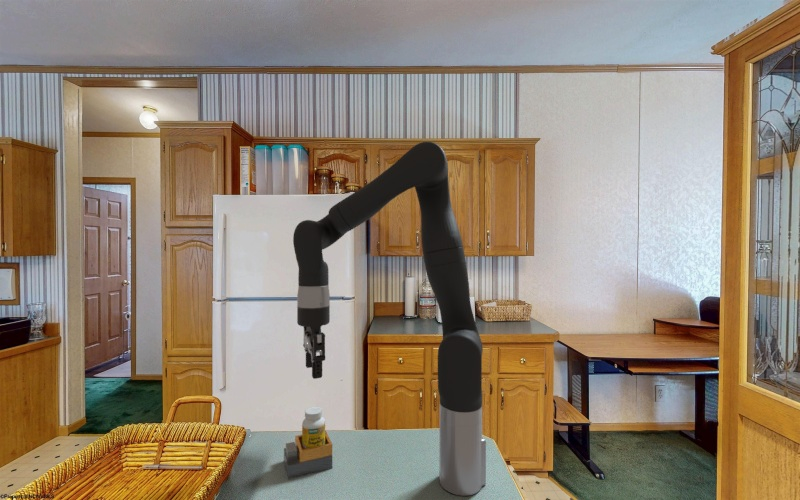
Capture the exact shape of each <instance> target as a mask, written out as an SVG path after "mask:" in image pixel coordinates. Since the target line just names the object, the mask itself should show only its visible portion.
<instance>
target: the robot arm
mask: <svg viewBox="0 0 800 500" xmlns="http://www.w3.org/2000/svg"><path fill="white" fill-rule="evenodd" d="M449 182H450V181H449V163H448V158H447V156H446V153H445V151H444V149H443V148H442V147H441V146H440V145H439V144H437V143H435V142H432V141H422V142H419V143H417V144H415V145H414V146H413V147H411V148H410V149H409V150H408V151H406V152H405V153H404V154H403V155H402V156H401V157H400V158H399V159H398V160H396V161H395V162H394V163H393V164H392V165H390V166H389V168H387V169H386V170H384V171H383V172H381V174H379V175H378V176H377V177H375V178H374V179H373V180H371V181H370V182H368V183H367V184H366V185H364V186H362V187H361V188H360V189H358V190H357V191H355V192H353V193H351V194H350V195H348V196H347V197H345V198H344V199H342V200H341V201H339V202H337V203H335V204H334V205H332V206H331V208H329V210H328V213H327V215H325V216H324V217H322V218H321V219H320V220H318V221H316V220H313V219H311V220H310V219H306V220H302V221H300V222H299V223H298V224H297V225H296V226H295V228H294V232H293V235H292V236H293V239H292V241H293V249H294V253H295V259H296V263H297V266H298V277H297V278H298V280H297V281H298V283H297V284H298V287H297V289H298V290H297V295H296V296H297V297H296V300H297V303H296V304H297V305H296V306H297V307H296V308H297V314H296V315H297V317H296V321H297V325H298V326H300V327H303V348H304V352H305V367H306V368H307V369H310V368H311V377H312V378H313V379H314V380H315V379H321V378H322V377H323V362H324V361H326V334H325V333H324V332H322V326H326V325H328V324H329V323H330V317H331V316H330V315H331V314H330V312H331V310H330V309H331V307H330V306H331V305H330V304H331V303H330V289H329V288H330V287H329V285H330V284H329V282H330V281H329V278H330V277H329V265H328V263H327V262H326V261H324V257H323V256H324V255H323V250H325V249H327V248H329V247H330V246H332V245H333V244H335V243H336V242H337V241H339V240H340V239H341V238H342V237H343V236H345V234H347V233H348V232H350V231H352V230H354V229H355V228H358V227H359V226H360V225H362V224H364V223H365V222H367V221H368V220H370V219H371V218H372V217H374V216H375V215H377V213H379V212H380V211H382V209H383V208H384V207H386V206H387V205H388V204H389V203H390V202H391V201H392V200H394V199H395V198H396V197H398V196H399V195H401V194H402V193H405V192H406V191H408V190H410V189H413V188H414V189H415V191H416V197H417V200H418V204H419V210H420V217H421V220H420V222H421V224H420V225H421V226H420V229H421V231H420V232H421V233H420V236H421V237H420V238H421V249H422V256H423V263H424V268H425V271H426V276H427V279H428V282H429V286H430V287H431V291H432V293H433V295H434V297H435V299H436V302H437V305H438V308H439V312H440V313H439V314H440V318H441V320H440V321H441V329H442V340H441V341H440V344H439V346H438V350H437V390H438V397H439V450H438V451H439V460H438V461H439V473H438V474H439V483H440V485H441V488H443V489H444V490H445V491H447V492H449V493H451V494H452V495H456V496H462V497H463V496H464V497H465V496H472V495H475V494H477V493H479V491H480V490H481V489H482V488H483V486H485V485H487V442H486V439H485V438H483V390H482V385H483V383H482V381H483V378H482V376H483V373H482V369H483V368H482V364H483V361H482V360H483V359H482V358H483V351H484V350H483V349H484V348H483V347H484V346H483V342H482V339H481V336H480V333H479V330H478V327H477V324H476V320H475V316H474V313H473V309H472V308H473V307H472V304H471V296H470V295H471V294H470V285H469V284H470V283H469V282H470V281H469V274H468V267H467V260H466V256H465V255H466V254H465V249H464V244H463V240H462V236H461V232H460V229H459V225H458V223H457V219H456V216H455V213H454V210H453V207H452V201H451V194H450V183H449ZM317 353H319V355H317Z"/></svg>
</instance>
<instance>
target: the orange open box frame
mask: <svg viewBox="0 0 800 500" xmlns="http://www.w3.org/2000/svg"><path fill="white" fill-rule="evenodd" d="M283 463H284V467H285V468H284V469H285V473H286V478H287V480H291V479H294V478H298V477H302V476H307V475H311V474H314V473H318V472H321V471H327V470H330V469H333V443H332V440H331V439H330V437H329V435H328V432H327V430H326V429H325V445H321V446H316V447H311V448H307V449H302V434H299V435H294V441H292V442H291V441H290V442H288V443H285V447H283Z"/></svg>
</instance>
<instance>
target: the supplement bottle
mask: <svg viewBox="0 0 800 500" xmlns="http://www.w3.org/2000/svg"><path fill="white" fill-rule="evenodd" d="M304 417H305V418H304V419H303V420H302V424H301V427H302V428H301V429H302V430H301V432H302V434H301V435H302V449H307V448H311V447H316V446H321V445H325V430H326V420H325V417H323V409H322V408H321V407H318V406H314V407H309V408H307V409H306V410H305V411H304Z"/></svg>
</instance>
